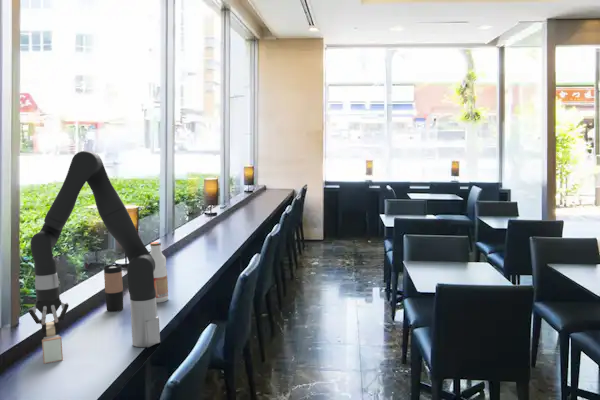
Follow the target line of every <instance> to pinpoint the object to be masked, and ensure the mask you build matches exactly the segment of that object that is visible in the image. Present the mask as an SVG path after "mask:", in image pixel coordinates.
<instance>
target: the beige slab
mask: <svg viewBox="0 0 600 400" xmlns="http://www.w3.org/2000/svg"><path fill="white" fill-rule="evenodd" d="M45 323H46V333H47V334H45V335H46V336H44V337H43V339H48V338H54V337H60V334H56V333H55V326H54V320H53V321H48V322H45Z"/></svg>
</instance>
